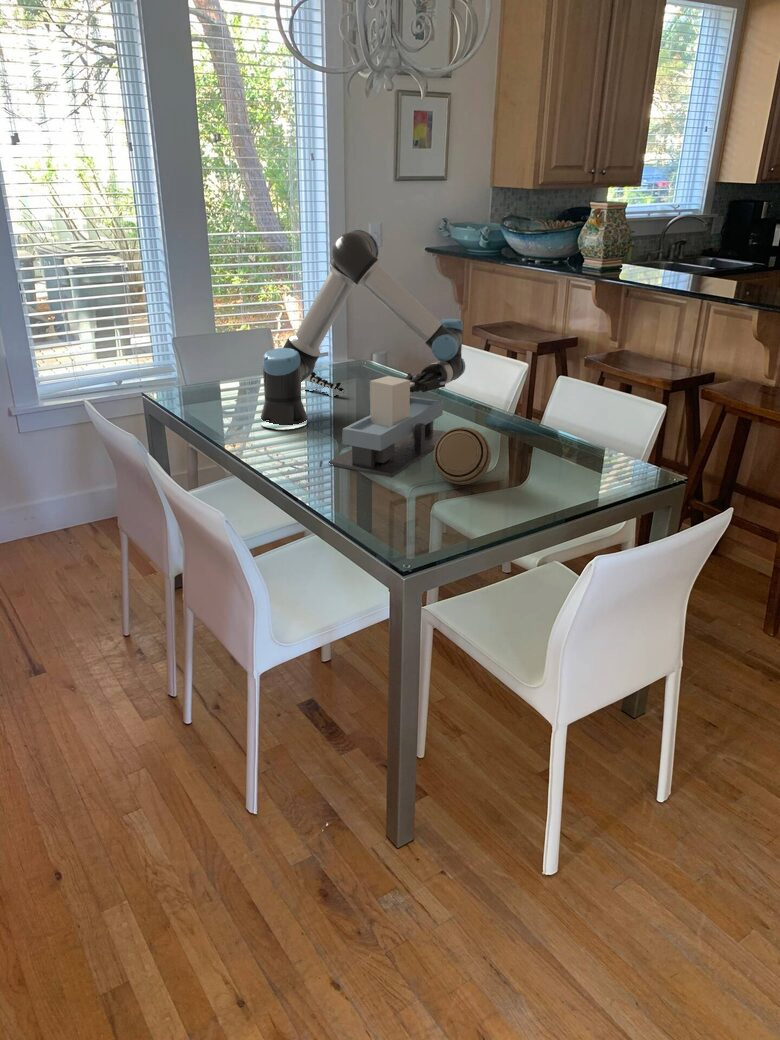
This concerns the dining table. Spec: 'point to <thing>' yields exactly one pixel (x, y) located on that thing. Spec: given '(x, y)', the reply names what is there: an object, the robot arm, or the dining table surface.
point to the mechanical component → (462, 455)
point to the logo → (323, 382)
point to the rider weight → (389, 400)
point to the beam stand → (404, 456)
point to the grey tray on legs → (391, 429)
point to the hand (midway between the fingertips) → (402, 391)
